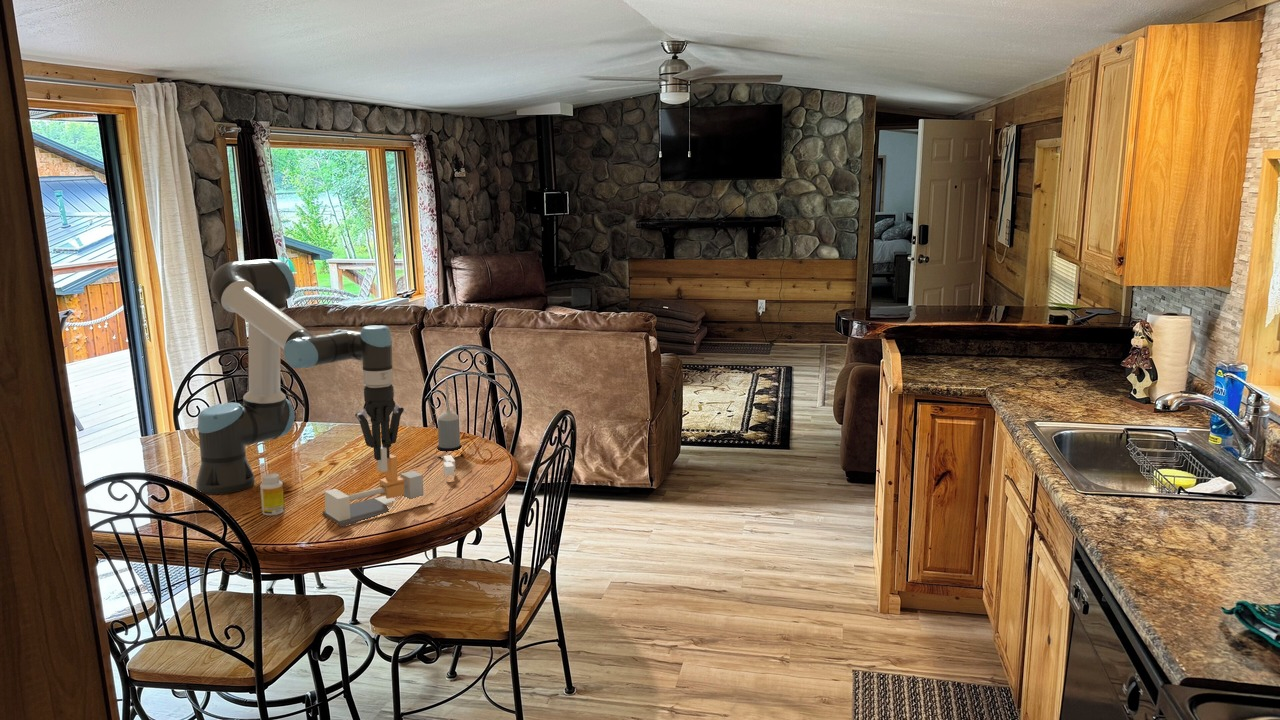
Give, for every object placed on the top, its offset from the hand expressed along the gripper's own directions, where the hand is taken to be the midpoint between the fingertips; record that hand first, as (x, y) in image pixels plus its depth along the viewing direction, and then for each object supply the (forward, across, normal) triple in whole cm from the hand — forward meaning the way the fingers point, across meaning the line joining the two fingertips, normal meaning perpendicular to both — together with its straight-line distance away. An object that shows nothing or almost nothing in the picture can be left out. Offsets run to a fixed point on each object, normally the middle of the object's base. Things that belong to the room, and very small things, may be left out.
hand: (382, 470), depth 233 cm
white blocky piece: (+11, +26, +11) cm, 31 cm away
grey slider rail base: (+11, -2, 0) cm, 11 cm away
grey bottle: (+11, +38, +30) cm, 50 cm away
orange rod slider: (+8, +3, 0) cm, 8 cm away
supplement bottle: (+11, -24, +16) cm, 30 cm away
